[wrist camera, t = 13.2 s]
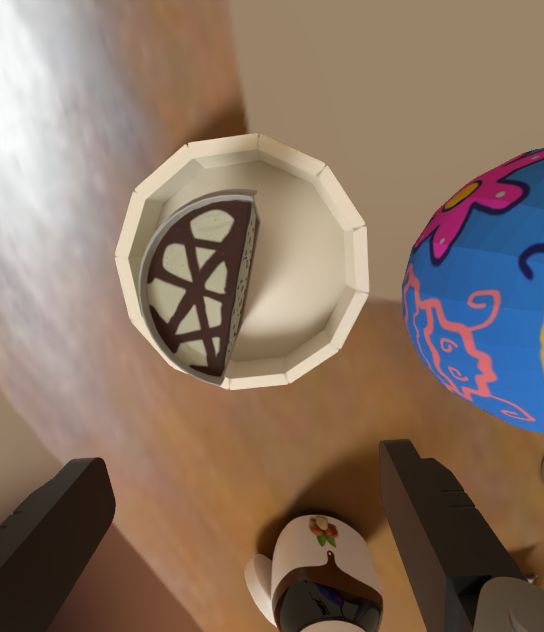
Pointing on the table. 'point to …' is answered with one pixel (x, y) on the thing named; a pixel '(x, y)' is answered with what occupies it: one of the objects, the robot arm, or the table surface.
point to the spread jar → (317, 578)
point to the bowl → (265, 252)
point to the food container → (200, 280)
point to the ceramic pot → (485, 292)
